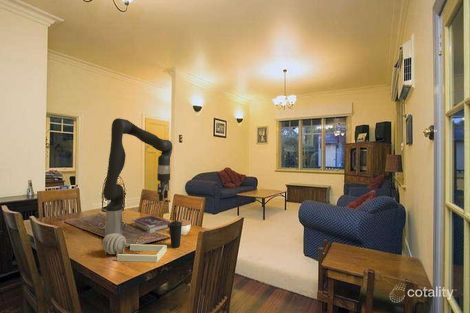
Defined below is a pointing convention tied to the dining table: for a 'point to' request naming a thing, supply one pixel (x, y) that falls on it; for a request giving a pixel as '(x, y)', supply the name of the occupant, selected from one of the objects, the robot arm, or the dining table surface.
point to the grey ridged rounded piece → (114, 244)
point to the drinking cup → (175, 233)
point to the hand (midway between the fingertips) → (163, 199)
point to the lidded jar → (185, 226)
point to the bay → (143, 258)
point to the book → (151, 223)
